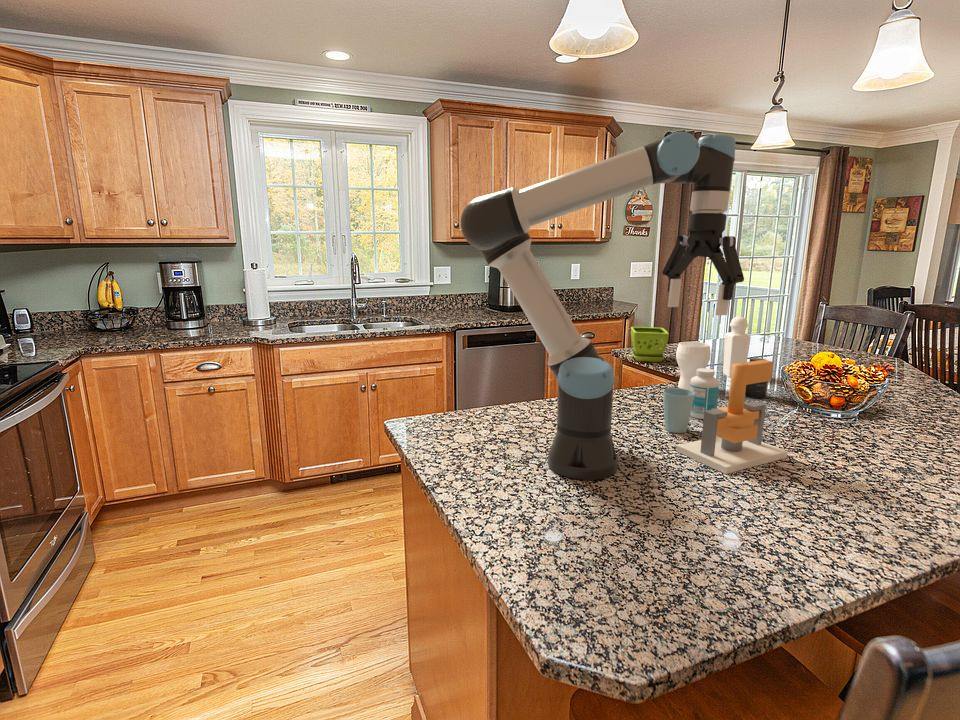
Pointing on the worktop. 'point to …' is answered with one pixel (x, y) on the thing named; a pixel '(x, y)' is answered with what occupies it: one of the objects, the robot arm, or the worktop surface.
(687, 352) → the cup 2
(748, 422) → the lever handle
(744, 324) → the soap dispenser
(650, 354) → the flower pot
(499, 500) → the worktop surface
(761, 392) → the supplement bottle
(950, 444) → the worktop surface
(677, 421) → the cup
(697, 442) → the base
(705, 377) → the pill bottle
